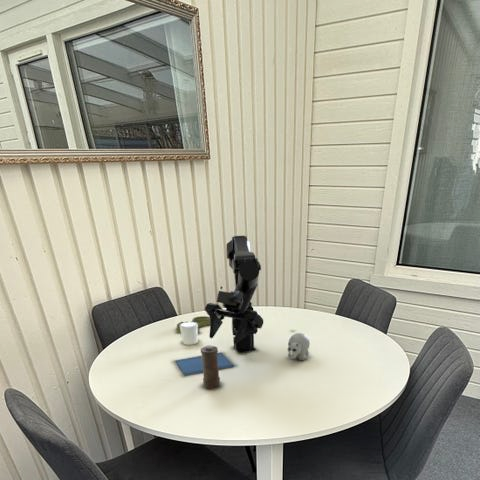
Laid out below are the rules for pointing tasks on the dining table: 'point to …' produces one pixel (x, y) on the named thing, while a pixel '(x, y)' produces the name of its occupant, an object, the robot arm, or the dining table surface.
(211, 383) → the pepper mill
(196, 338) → the white cylinder
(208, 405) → the dining table surface
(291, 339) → the grey bear figurine
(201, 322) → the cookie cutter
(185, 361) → the napkin
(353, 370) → the dining table surface
